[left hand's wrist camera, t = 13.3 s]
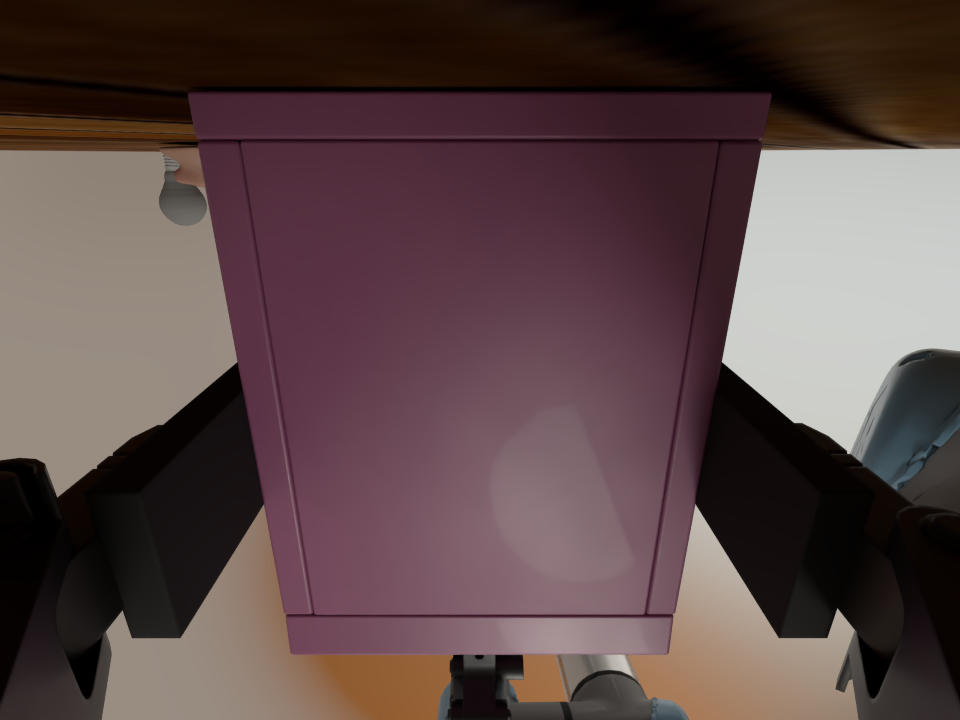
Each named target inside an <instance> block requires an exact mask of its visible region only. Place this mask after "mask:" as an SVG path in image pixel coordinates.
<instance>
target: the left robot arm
mask: <svg viewBox="0 0 960 720" xmlns="http://www.w3.org/2000/svg"><path fill="white" fill-rule="evenodd" d="M695 504H696V506H697V507H698V509H699V510H700V512H701V514H702V515H703V517H704V518H705V520H706V522H707V523H708V525H709V526H710V528H711V530H712V531H713V533H714V535H715V536H716V538H717V539H718V541H719V543H720V544H721V546H722V547H723V549H724V551H725V552H726V554H727V555H728V557H729V558H730V560H731V562H732V563H733V565H734V567H735V568H736V570H737V572H738V573H739V575H740V576H741V578H742V580H743V581H744V583H745V584H746V586H747V588H748V589H749V591H750V592H751V594H752V596H753V597H754V599H755V600H756V602H757V604H758V605H759V607H760V608H761V610H762V612H763V613H764V615H765V616H766V618H767V620H768V621H769V623H770V625H771V626H772V628H773V629H774V631H775V632H776V634H777V636H778V637H779V638H827V637H828V634H829V631H830V628H831V625H832V622H833V620H834V616H835V614H836V611H837V608H838V609H839V611H840V612H841V613H842V614H843V616H844V617H845V618H846V619H847V621H848V622H849V623H850V624H851V626H852V627H853V628H854V629H855V631H854V634H853V637H852V640H851V642H850V645H849V648H848V651H847V653H846V656H845V659H844V662H843V664H842V667H841V670H840V673H839V675H838V678H837V684H836V690H839V691H842V692H845V689H846V686H847V684H848V681H849V680H851V679H853V686H854V692H855V699H856V705H857V712H858V718H859V720H960V351H953V350H944V349H923V350H918V351H915V352H912V353H910V354H908V355H906V356H904V357H902V358H901V359H900V360H898V361H897V362H896V364H895V365H894V366H893V367H892V368H891V370H890V371H889V372H888V374H887V376H886V378H885V379H884V381H883V383H882V385H881V387H880V389H879V391H878V393H877V395H876V397H875V399H874V401H873V403H872V405H871V407H870V409H869V411H868V414H867V416H866V418H865V420H864V422H863V425H862V427H861V429H860V431H859V434H858V436H857V438H856V441H855V443H854V446H853V448H852V450H851V453H850V454H847V451H846V450H845V449H844V448H843V447H841V446H840V445H839V444H838V443H836V442H835V441H834V440H833V439H831V438H830V437H829V436H827V435H825V434H823V433H821V432H819V431H817V430H815V429H813V428H811V427H809V426H807V425H805V424H803V423H793V422H792V421H791V420H790V419H789V418H787V417H786V416H785V415H784V414H783V413H781V412H780V411H779V410H778V409H777V408H775V407H774V406H773V405H772V404H771V403H770V402H768V401H767V400H766V399H765V398H764V397H762V396H761V395H760V394H759V393H758V392H757V391H755V390H754V389H753V388H752V387H751V386H750V385H748V384H747V383H746V382H745V381H744V380H742V379H741V378H740V377H739V376H738V375H736V374H735V373H734V372H733V371H732V370H731V369H729V368H728V367H727V366H726V365H725V364H723V363H721V368H720V374H719V379H718V385H717V390H716V395H715V401H714V406H713V412H712V417H711V422H710V428H709V433H708V438H707V444H706V449H705V455H704V460H703V465H702V471H701V476H700V482H699V487H698V492H697V498H696V503H695ZM263 505H264V501H263V496H262V491H261V485H260V480H259V474H258V469H257V464H256V458H255V453H254V447H253V442H252V437H251V431H250V426H249V420H248V415H247V410H246V404H245V399H244V393H243V388H242V383H241V377H240V372H239V366H238V362H237V363H236V364H235V365H234V366H232V367H231V368H230V369H229V370H228V371H226V372H225V373H224V374H223V375H222V376H221V377H219V378H218V379H217V380H216V381H215V382H213V383H212V384H211V385H210V386H209V387H208V388H206V389H205V390H204V391H203V392H202V393H200V394H199V395H198V396H197V397H196V398H194V399H193V400H192V401H191V402H190V403H189V404H187V405H186V406H185V407H184V408H183V409H181V410H180V411H179V412H178V413H177V414H176V415H174V416H173V417H172V418H171V419H170V420H168V421H167V422H166V423H165V424H164V425H157V426H155V427H153V428H151V429H149V430H147V431H145V432H143V433H141V434H139V435H137V436H134V437H132V438H131V439H130V440H128V441H127V442H126V443H125V444H123V445H122V446H121V447H120V448H118V449H117V450H116V451H115V452H113V456H109V457H107V458H106V459H105V460H104V461H102V462H101V463H100V464H99V465H97V469H92V470H91V471H90V472H89V473H87V474H86V475H85V476H84V477H82V478H81V479H80V480H79V481H77V482H76V483H75V484H74V485H72V486H71V487H70V488H69V489H67V490H66V491H65V492H64V493H63V494H61V495H60V496H59V497H58V498H57V496H56V493H55V490H54V488H53V485H52V482H51V479H50V476H49V474H48V471H47V468H46V465H45V464H44V463H43V462H41V461H39V460H37V459H28V458H16V459H8V460H0V720H102V713H103V707H104V700H105V694H106V687H107V681H108V675H109V668H110V662H111V655H112V653H111V647H110V642H109V639H108V637H107V634H106V630H107V629H108V628H109V627H110V625H111V624H112V623H113V622H114V620H115V619H116V618H117V616H118V615H119V614H120V613H121V611H122V610H123V613H124V616H125V619H126V622H127V625H128V628H129V631H130V633H131V636H132V638H181V636H182V635H183V633H184V631H185V630H186V628H187V627H188V625H189V624H190V622H191V620H192V619H193V617H194V616H195V614H196V612H197V611H198V609H199V608H200V606H201V604H202V603H203V601H204V599H205V598H206V596H207V595H208V593H209V591H210V590H211V588H212V587H213V585H214V583H215V582H216V580H217V579H218V577H219V575H220V574H221V572H222V571H223V569H224V567H225V566H226V564H227V562H228V561H229V559H230V558H231V556H232V554H233V553H234V551H235V550H236V548H237V546H238V545H239V543H240V542H241V540H242V538H243V537H244V535H245V534H246V532H247V530H248V529H249V527H250V526H251V524H252V522H253V521H254V519H255V517H256V516H257V514H258V513H259V511H260V509H261V508H262V506H263Z"/></svg>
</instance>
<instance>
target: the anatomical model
mask: <svg viewBox="0 0 960 720" xmlns="http://www.w3.org/2000/svg"><path fill="white" fill-rule="evenodd" d="M159 150H160V151H161V152H162V153H163V154H164V155H166V156H168V157H169V158H171V159H173V160H175V161H176V162H178V163H179V164H180V167H179V168H178V169H177V170H176V171H175V172H174V177H175V180H176V181H177V182H179V183H183V184H190V185H194V186H198V187H205V183H204V177H203V172H202V166H201V161H200V156H199V150H198V146H176V147H161V148H159Z"/></svg>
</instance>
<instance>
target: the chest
mask: <svg viewBox="0 0 960 720" xmlns="http://www.w3.org/2000/svg"><path fill="white" fill-rule="evenodd" d="M188 98H189V104H190V109H191V115H192V120H193V125H194V131H195V135H196V137H197V138H198V139H200V140H201V141H199V142H198V150H199V156H200V161H201V166H202V172H203V177H204V183H205V188H206V193H207V199H208V204H209V210H210V215H211V220H212V226H213V231H214V237H215V242H216V247H217V253H218V258H219V264H220V269H221V274H222V280H223V285H224V291H225V296H226V301H227V307H228V312H229V318H230V323H231V328H232V334H233V339H234V345H235V350H236V356H237V361H238V366H239V372H240V377H241V383H242V388H243V393H244V399H245V404H246V410H247V415H248V420H249V426H250V431H251V437H252V442H253V447H254V453H255V458H256V464H257V469H258V474H259V480H260V485H261V491H262V496H263V501H264V507H265V512H266V517H267V523H268V528H269V534H270V539H271V545H272V550H273V555H274V561H275V566H276V572H277V577H278V582H279V588H280V593H281V598H282V604H283V609H284V613H285V614H312V613H313V611H314V614H316V615H644V614H645V611H646V613H647V614H674V613H675V611H676V605H677V600H678V595H679V589H680V584H681V578H682V573H683V568H684V562H685V557H686V551H687V546H688V541H689V535H690V530H691V525H692V519H693V514H694V509H695V503H696V498H697V492H698V487H699V482H700V476H701V471H702V465H703V460H704V455H705V449H706V444H707V438H708V433H709V428H710V422H711V417H712V412H713V406H714V401H715V395H716V390H717V385H718V379H719V374H720V368H721V363H722V357H723V352H724V347H725V341H726V336H727V331H728V325H729V320H730V314H731V309H732V304H733V298H734V293H735V287H736V282H737V277H738V271H739V266H740V261H741V255H742V250H743V245H744V239H745V234H746V228H747V223H748V218H749V212H750V207H751V201H752V196H753V191H754V185H755V180H756V174H757V169H758V164H759V158H760V153H761V148H762V143H761V142H760V141H758V140H760V139H762V138H763V136H764V133H765V128H766V123H767V117H768V112H769V106H770V101H771V93H770V92H768V91H191V92H189V93H188Z"/></svg>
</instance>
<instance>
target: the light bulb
mask: <svg viewBox="0 0 960 720" xmlns="http://www.w3.org/2000/svg"><path fill="white" fill-rule="evenodd" d="M163 157H165V159H164V160H165V163H166V165H165V168H166V172H165V175H164V177H165V183H164V186H163V189H162V191H161V194H160V197H159V205H160V208H161V210H162V212H163V213H164V215H165V216H166V217H167V218H168V219H169V220H171V221H172V222H174V223H176V224H179V225H184V226H189V225H193V224H196V223H198V222H200V221H201V220H202V218H203V217H204V215H205V213H206V210H207V204H206V200H205V198H204V196H203V194H202V193H201V192H200V190H199V189H198V188H197V187H196V186H194V185H190V184H183V183H179V182H177V181H176V180H175V177H174V172H175V171H176V170H177V169H178V168H179V167H180V164H179V163H178V162H176V161H175V160H173V159H171V158H169V157H168V156H166V155H164V156H163Z"/></svg>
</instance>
